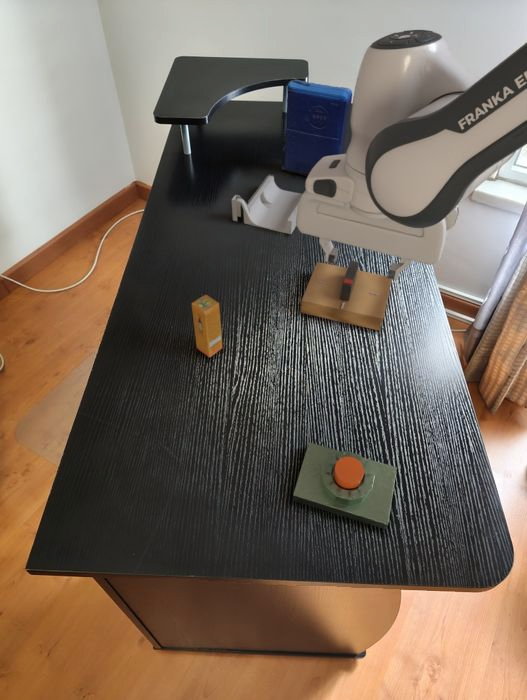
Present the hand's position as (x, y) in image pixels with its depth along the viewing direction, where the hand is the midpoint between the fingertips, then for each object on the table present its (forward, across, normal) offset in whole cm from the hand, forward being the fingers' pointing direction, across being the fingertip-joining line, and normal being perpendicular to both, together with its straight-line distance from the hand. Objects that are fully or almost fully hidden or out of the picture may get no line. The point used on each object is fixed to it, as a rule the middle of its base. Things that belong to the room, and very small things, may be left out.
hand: (361, 268), depth 70 cm
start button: (+11, -8, +27) cm, 30 cm away
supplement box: (+14, +20, +12) cm, 27 cm away
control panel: (+14, +3, -8) cm, 16 cm away
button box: (+14, -8, +27) cm, 31 cm away
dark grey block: (+11, +3, -8) cm, 14 cm away
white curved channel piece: (+14, +26, -29) cm, 42 cm away
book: (+14, +24, -47) cm, 54 cm away
